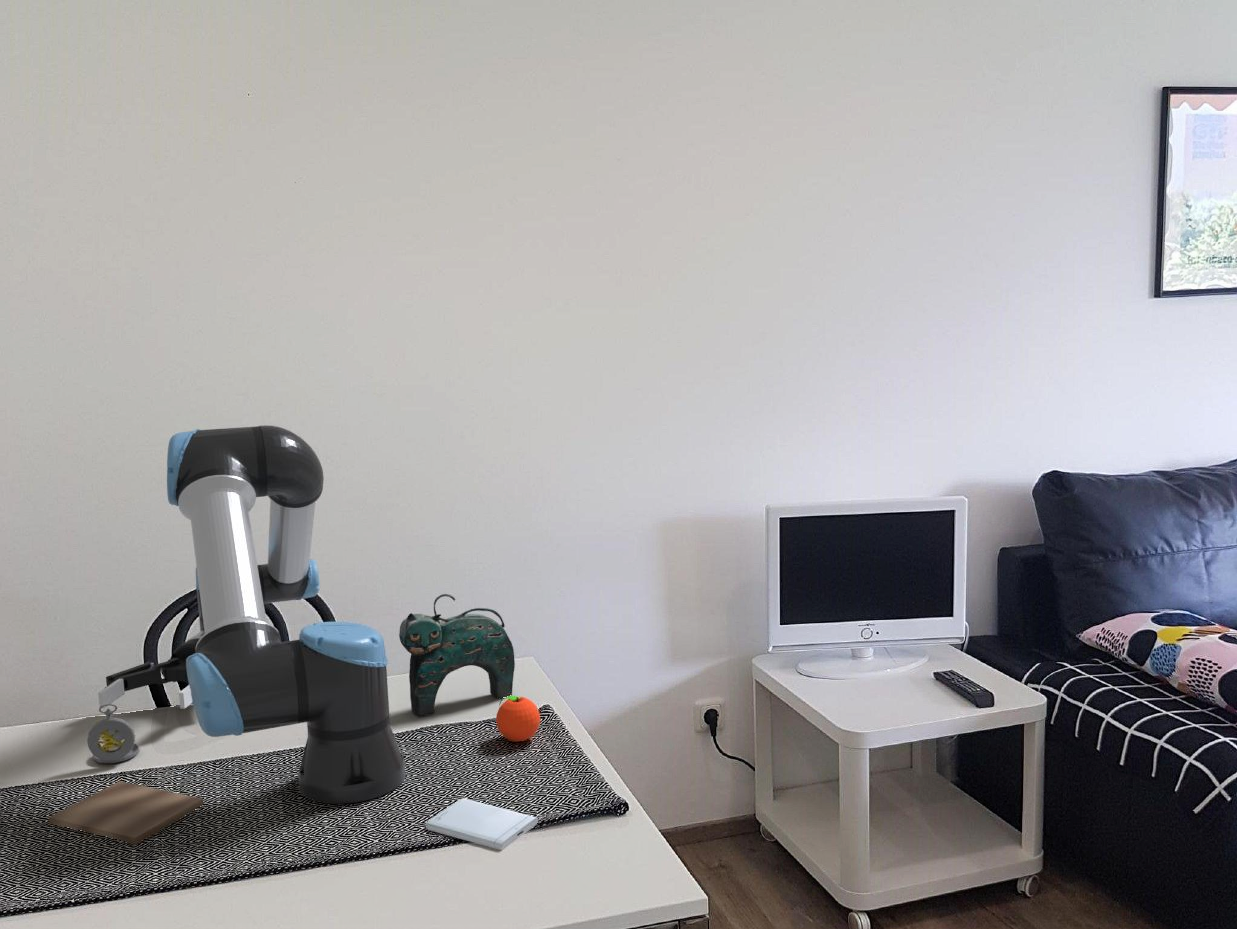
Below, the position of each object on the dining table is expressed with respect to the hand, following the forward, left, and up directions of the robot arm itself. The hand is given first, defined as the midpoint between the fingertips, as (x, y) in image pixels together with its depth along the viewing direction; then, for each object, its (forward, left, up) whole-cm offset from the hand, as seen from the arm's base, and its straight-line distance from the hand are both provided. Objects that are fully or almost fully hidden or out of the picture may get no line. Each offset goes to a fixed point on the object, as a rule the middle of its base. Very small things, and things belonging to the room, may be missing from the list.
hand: (141, 700), depth 181 cm
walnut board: (-20, +22, -6) cm, 30 cm away
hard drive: (-68, +7, -7) cm, 69 cm away
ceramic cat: (-41, -30, -6) cm, 51 cm away
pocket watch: (-3, +9, -6) cm, 11 cm away
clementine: (-58, -20, -6) cm, 62 cm away
